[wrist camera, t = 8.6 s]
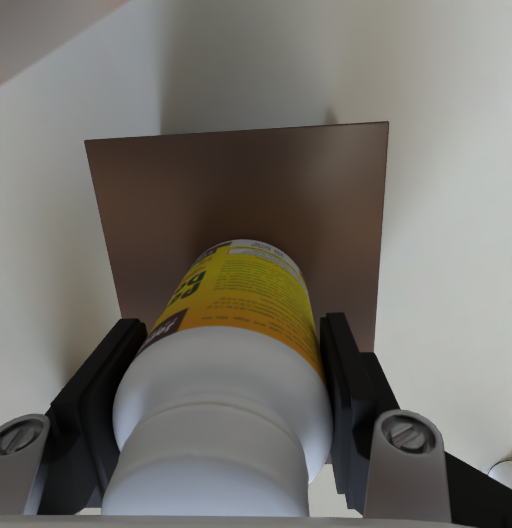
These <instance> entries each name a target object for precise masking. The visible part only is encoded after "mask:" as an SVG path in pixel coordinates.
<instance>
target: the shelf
mask: <svg viewBox="0 0 512 528" xmlns="http://www.w3.org/2000/svg"><path fill="white" fill-rule="evenodd" d="M388 134H389V122H388V121H383V122H367V123H351V124H335V125H319V126H303V127H287V128H271V129H254V130H238V131H222V132H206V133H190V134H174V135H158V136H142V137H126V138H109V139H93V140H85V141H84V143H85V148H86V153H87V157H88V162H89V167H90V171H91V176H92V181H93V185H94V190H95V195H96V199H97V204H98V209H99V213H100V218H101V223H102V227H103V232H104V237H105V241H106V246H107V251H108V255H109V260H110V265H111V269H112V274H113V279H114V283H115V288H116V293H117V297H118V302H119V307H120V311H121V316H122V319H128V318H138V319H139V320H140V322H144V323H145V325H146V329H147V334H148V335H149V333H150V331H151V330H152V328H153V326H154V325H155V323H156V322H157V320H158V318H159V317H160V315H161V314H162V312H163V310H164V309H165V307H166V306H167V304H168V302H169V301H170V299H171V298H172V296H173V294H174V293H175V291H176V289H177V288H178V286H179V285H180V283H181V281H182V280H183V278H184V276H185V275H186V273H187V272H188V270H189V269H190V267H191V266H192V264H193V263H194V262H195V261H196V260H197V258H198V257H199V256H201V255H202V254H203V253H204V252H205V251H207V250H208V249H210V248H212V247H214V246H216V245H218V244H220V243H223V242H227V241H231V240H240V239H247V240H255V241H260V242H264V243H267V244H269V245H272V246H274V247H276V248H278V249H279V250H281V251H282V252H284V253H285V254H286V255H287V256H288V257H290V258H291V259H292V261H293V262H294V263H295V264H296V265H297V267H298V268H299V270H300V271H301V273H302V275H303V277H304V280H305V283H306V287H307V291H308V295H309V300H310V306H311V310H312V315H313V320H314V324H315V329H316V334H317V339H318V343H319V348H320V317H326V313H334V312H344V313H345V316H346V318H347V321H348V324H349V326H350V329H351V331H352V334H353V336H354V339H355V342H356V344H357V347H358V349H359V352H374V338H375V324H376V309H377V295H378V280H379V265H380V251H381V236H382V221H383V207H384V192H385V178H386V163H387V148H388ZM325 464H332V460H331V455H330V452H329V455H328V457H327V460H326V462H325Z"/></svg>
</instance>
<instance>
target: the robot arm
mask: <svg viewBox="0 0 512 528" xmlns="http://www.w3.org/2000/svg"><path fill="white" fill-rule="evenodd" d="M147 337H148V334H147V329H146V325H145V323H144V322H140V320H139V319H138V318H128V319H120V320H119V321H118V322H117V323H116V324H115V326H114V327H113V328H112V329H111V331H110V332H109V333H108V334H107V335H106V337H105V338H104V339H103V340H102V342H101V343H100V344H99V345H98V346H97V348H96V349H95V350H94V351H93V353H92V354H91V355H90V356H89V357H88V359H87V360H86V361H85V362H84V364H83V365H82V366H81V367H80V368H79V370H78V371H77V372H76V373H75V375H74V376H73V377H72V378H71V379H70V381H69V382H68V383H67V384H66V386H65V387H64V388H63V389H62V391H61V392H60V393H59V394H58V395H57V397H56V398H55V399H54V400H53V402H52V403H51V404H50V405H51V407H50V408H49V410H48V411H47V412H46V413H45V415H43V414H28V415H24V416H21V417H18V418H15V419H13V420H11V421H9V422H7V423H5V424H3V425H2V426H0V528H512V489H511V488H509V487H507V486H505V485H504V484H502V483H500V482H498V481H497V480H495V479H493V478H491V477H489V476H488V475H486V474H484V473H482V472H481V471H479V470H477V469H475V468H474V467H472V466H470V465H468V464H467V463H465V462H463V461H461V460H460V459H458V458H456V457H454V456H452V455H451V454H449V453H447V452H445V451H444V442H443V438H442V435H441V433H440V431H439V430H438V429H437V427H436V426H435V425H434V424H433V423H432V422H431V421H429V420H428V419H427V418H425V417H423V416H421V415H420V414H418V413H414V412H411V411H408V410H401V409H400V407H399V405H398V403H397V401H396V398H395V396H394V394H393V392H392V390H391V387H390V385H389V383H388V381H387V379H386V377H385V374H384V372H383V370H382V368H381V366H380V363H379V361H378V359H377V357H376V355H375V353H374V352H359V349H358V347H357V344H356V342H355V339H354V336H353V334H352V331H351V329H350V326H349V324H348V321H347V318H346V316H345V313H344V312H334V313H326V317H320V353H321V358H322V363H323V367H324V372H325V377H326V382H327V386H328V391H329V396H330V401H331V406H332V413H333V424H334V430H333V441H332V445H331V449H330V455H331V460H332V466H333V472H334V477H335V483H336V489H337V493H338V494H345V497H346V502H347V507H348V509H355V510H356V511H358V512H359V513H360V514H361V515H362V516H363V518H339V517H267V516H164V515H80V511H81V510H82V509H84V508H101V507H102V501H103V497H104V494H105V491H106V489H107V487H108V485H109V482H110V480H111V478H112V476H113V473H114V471H115V469H116V467H117V464H118V460H119V456H120V450H119V448H118V445H117V442H116V439H115V435H114V430H113V423H112V415H113V404H114V399H115V395H116V392H117V389H118V386H119V384H120V382H121V380H122V378H123V376H124V374H125V372H126V371H127V369H128V367H129V365H130V364H131V362H132V361H133V359H134V358H135V356H136V354H137V353H138V351H139V349H140V348H141V346H142V345H143V343H144V341H145V340H146V338H147Z"/></svg>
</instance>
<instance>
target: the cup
mask: <svg viewBox="0 0 512 528" xmlns="http://www.w3.org/2000/svg"><path fill="white" fill-rule="evenodd" d="M488 476H489V477H491V478H493V479H495V480H497V481H498V482H500V483H502V484H504V485H505V486H507V487H509V488H511V489H512V461H505V462H502V463H499V464H497V465H495V466H494V467H493V468H492V469H491V470H490V472H489V474H488Z"/></svg>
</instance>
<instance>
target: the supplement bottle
mask: <svg viewBox="0 0 512 528" xmlns="http://www.w3.org/2000/svg"><path fill="white" fill-rule="evenodd" d="M112 423H113V430H114V435H115V439H116V442H117V445H118V448H119V450H120V456H119V460H118V464H117V467H116V469H115V471H114V473H113V476H112V478H111V480H110V482H109V485H108V487H107V489H106V491H105V494H104V497H103V501H102V507H101V515H164V516H267V517H310V516H309V504H308V485H309V484H310V483H311V482H312V481H313V479H314V478H315V477H316V476H317V475H318V473H319V472H320V470H321V469H322V467H323V465H324V464H325V462H326V460H327V457H328V455H329V452H330V449H331V445H332V441H333V430H334V424H333V413H332V406H331V401H330V396H329V391H328V386H327V382H326V377H325V372H324V367H323V363H322V358H321V353H320V348H319V343H318V339H317V334H316V329H315V324H314V320H313V315H312V310H311V306H310V300H309V295H308V291H307V287H306V283H305V280H304V277H303V275H302V273H301V271H300V270H299V268H298V267H297V265H296V264H295V263H294V262H293V261H292V259H291V258H290V257H288V256H287V255H286V254H285V253H284V252H282V251H281V250H279V249H278V248H276V247H274V246H272V245H269V244H267V243H264V242H260V241H255V240H247V239H240V240H231V241H227V242H223V243H220V244H218V245H216V246H214V247H212V248H210V249H208V250H207V251H205V252H204V253H203V254H202V255H201V256H199V257H198V258H197V260H196V261H195V262H194V263H193V264H192V266H191V267H190V269H189V270H188V272H187V273H186V275H185V276H184V278H183V280H182V281H181V283H180V285H179V286H178V288H177V289H176V291H175V293H174V294H173V296H172V298H171V299H170V301H169V302H168V304H167V306H166V307H165V309H164V310H163V312H162V314H161V315H160V317H159V318H158V320H157V322H156V323H155V325H154V326H153V328H152V330H151V331H150V333H149V335H148V337H147V338H146V340H145V341H144V343H143V345H142V346H141V348H140V349H139V351H138V353H137V354H136V356H135V358H134V359H133V361H132V362H131V364H130V365H129V367H128V369H127V371H126V372H125V374H124V376H123V378H122V380H121V382H120V384H119V386H118V389H117V392H116V395H115V399H114V404H113V415H112Z"/></svg>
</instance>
